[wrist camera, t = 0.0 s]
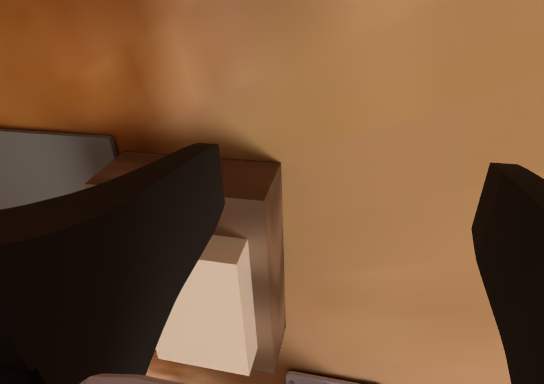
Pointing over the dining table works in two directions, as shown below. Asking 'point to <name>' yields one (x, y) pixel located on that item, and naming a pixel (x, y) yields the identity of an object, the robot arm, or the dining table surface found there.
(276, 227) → the deck
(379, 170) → the dining table surface
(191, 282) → the beige flat block
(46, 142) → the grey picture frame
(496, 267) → the robot arm
